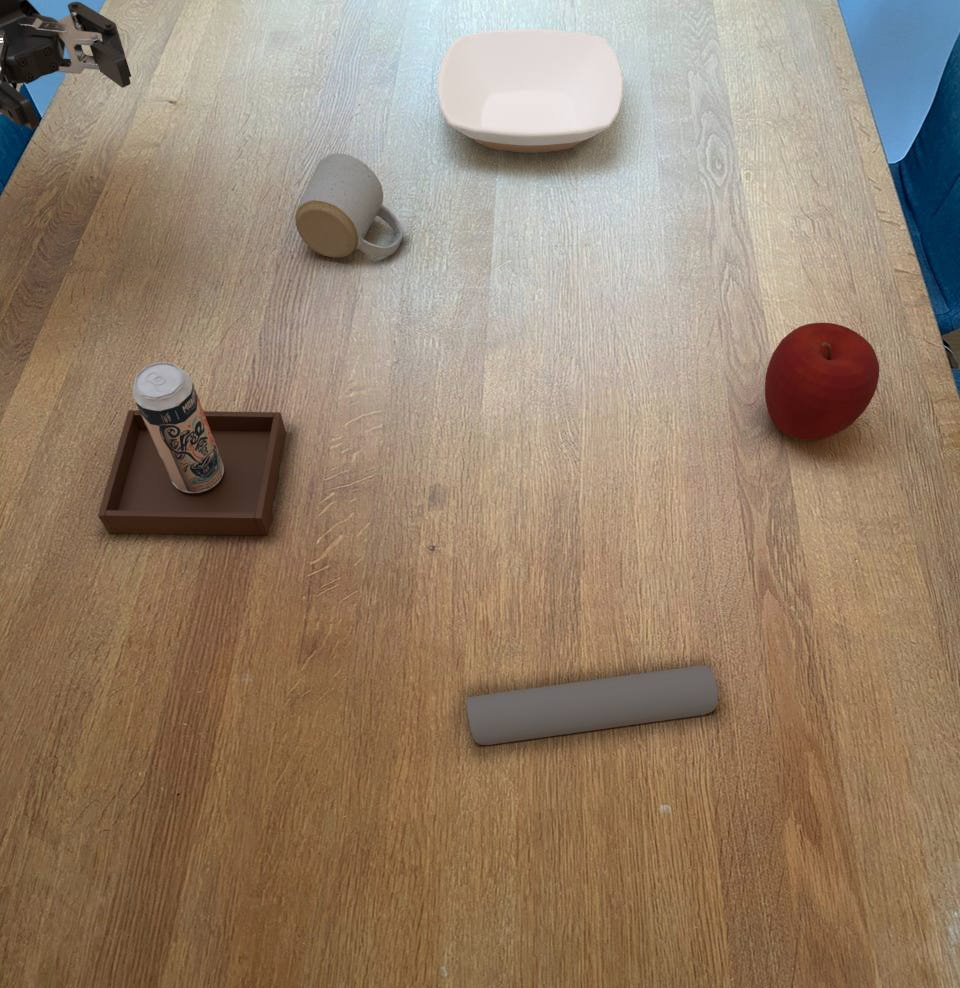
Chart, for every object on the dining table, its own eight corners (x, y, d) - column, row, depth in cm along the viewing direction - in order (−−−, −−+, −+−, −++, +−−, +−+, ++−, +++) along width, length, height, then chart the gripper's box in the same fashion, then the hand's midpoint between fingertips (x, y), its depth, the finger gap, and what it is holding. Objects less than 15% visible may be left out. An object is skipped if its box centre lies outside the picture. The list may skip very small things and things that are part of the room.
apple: (823, 377, 92) (857, 294, 83) (873, 448, 87) (915, 368, 79) (735, 399, 91) (760, 317, 82) (780, 473, 86) (813, 394, 77)
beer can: (202, 504, 84) (161, 409, 74) (161, 483, 85) (115, 386, 75) (236, 469, 86) (201, 371, 76) (195, 448, 87) (156, 350, 77)
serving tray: (108, 533, 83) (97, 515, 81) (137, 429, 89) (128, 409, 87) (267, 536, 83) (261, 518, 81) (285, 431, 89) (280, 412, 87)
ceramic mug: (296, 257, 102) (284, 193, 95) (322, 210, 106) (312, 145, 99) (390, 274, 100) (384, 211, 94) (412, 226, 104) (408, 162, 98)
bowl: (444, 70, 120) (442, 27, 115) (615, 72, 119) (620, 29, 114) (433, 176, 109) (431, 132, 104) (621, 179, 108) (627, 135, 103)
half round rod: (718, 713, 74) (723, 703, 72) (471, 747, 72) (471, 738, 71) (703, 666, 76) (708, 655, 74) (464, 698, 75) (463, 688, 73)
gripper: (65, 33, 87) (166, 106, 81) (-78, 93, 82) (18, 176, 76) (33, -59, 81) (139, 13, 75) (-125, 0, 75) (-24, 82, 70)
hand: (78, 95), depth 75 cm, fingers open, 8 cm apart
